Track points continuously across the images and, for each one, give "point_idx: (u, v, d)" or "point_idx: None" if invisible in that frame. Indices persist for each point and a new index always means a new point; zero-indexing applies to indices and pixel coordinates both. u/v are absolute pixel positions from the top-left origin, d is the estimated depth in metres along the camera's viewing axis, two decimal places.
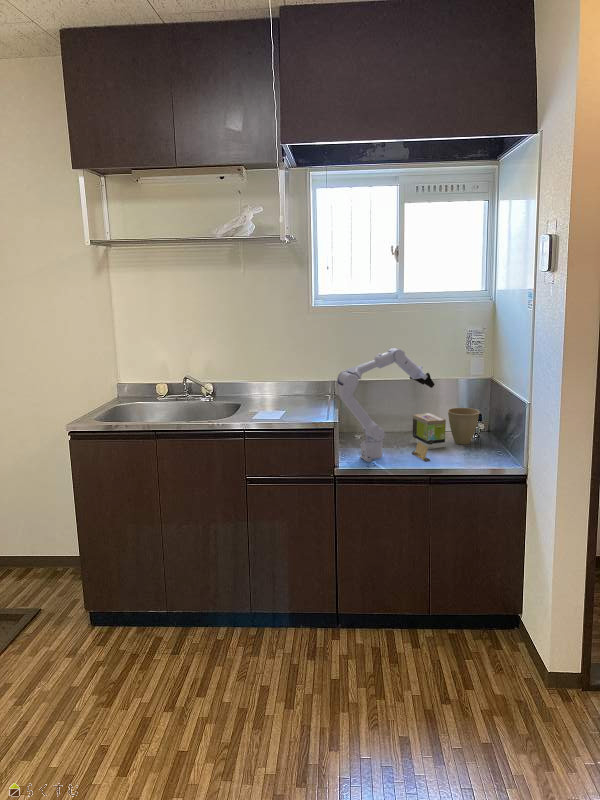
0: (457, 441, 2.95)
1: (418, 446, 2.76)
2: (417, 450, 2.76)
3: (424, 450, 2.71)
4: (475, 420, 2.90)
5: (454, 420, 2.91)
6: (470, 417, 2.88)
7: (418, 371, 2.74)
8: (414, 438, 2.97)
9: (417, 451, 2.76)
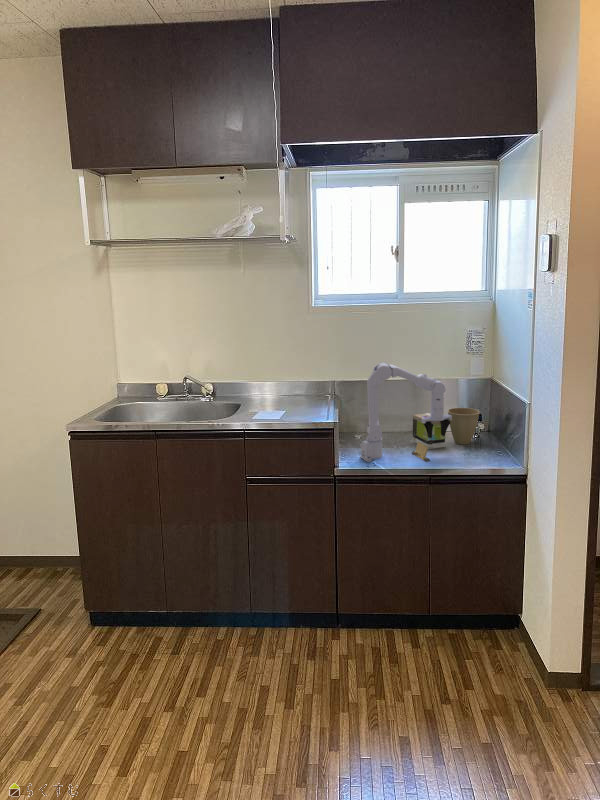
0: (457, 441, 2.95)
1: (418, 446, 2.76)
2: (417, 450, 2.76)
3: (424, 450, 2.71)
4: (475, 420, 2.90)
5: (454, 420, 2.91)
6: (470, 417, 2.88)
7: (432, 416, 2.71)
8: (414, 438, 2.97)
9: (417, 451, 2.76)
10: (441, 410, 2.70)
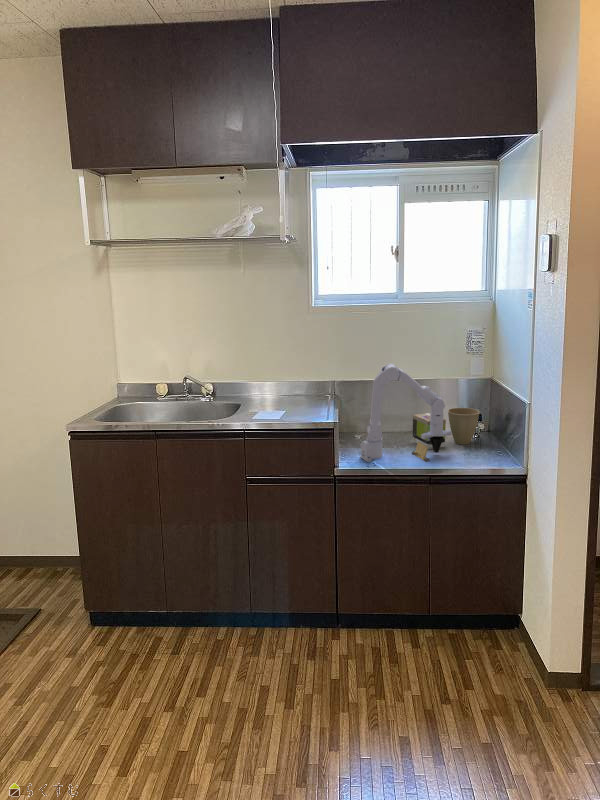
0: (457, 441, 2.95)
1: (418, 446, 2.76)
2: (417, 450, 2.76)
3: (424, 450, 2.71)
4: (475, 420, 2.90)
5: (454, 420, 2.91)
6: (470, 417, 2.88)
7: (432, 431, 2.73)
8: (414, 438, 2.97)
9: (417, 451, 2.76)
10: (441, 426, 2.71)
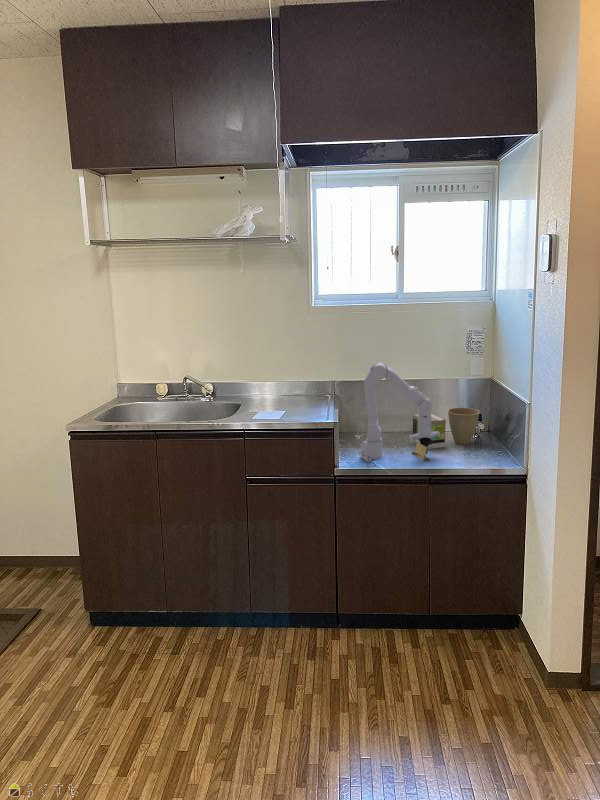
0: (457, 441, 2.95)
1: (417, 446, 2.76)
2: (417, 450, 2.76)
3: (423, 450, 2.71)
4: (475, 420, 2.90)
5: (454, 420, 2.91)
6: (470, 417, 2.88)
7: (420, 433, 2.71)
8: None
9: (417, 451, 2.76)
10: (429, 427, 2.70)
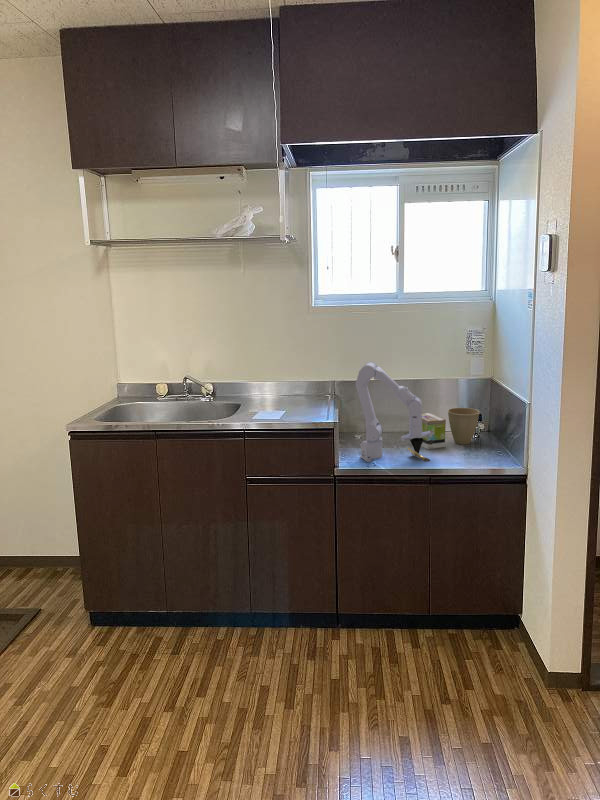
0: (457, 441, 2.95)
1: (410, 451, 2.75)
2: (413, 453, 2.76)
3: (417, 455, 2.70)
4: (475, 420, 2.90)
5: (454, 420, 2.91)
6: (470, 417, 2.88)
7: (411, 433, 2.69)
8: None
9: (414, 454, 2.76)
10: (419, 427, 2.68)
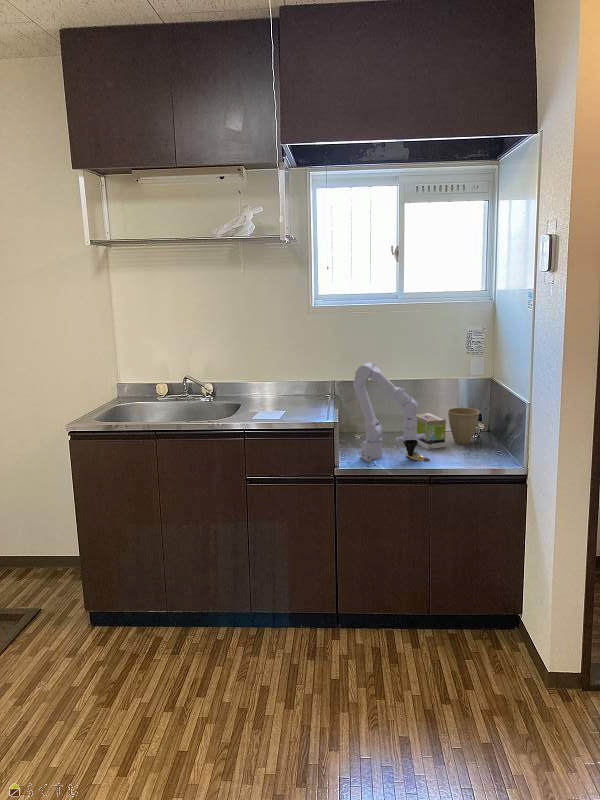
0: (457, 441, 2.95)
1: None
2: (413, 456, 2.76)
3: None
4: (475, 420, 2.90)
5: (454, 420, 2.91)
6: (470, 417, 2.88)
7: (405, 435, 2.69)
8: None
9: (413, 456, 2.76)
10: (414, 429, 2.67)
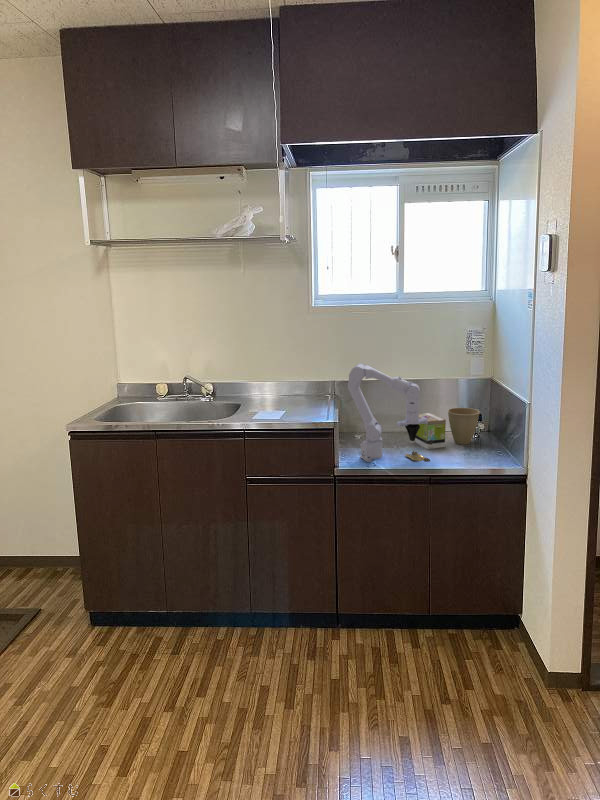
0: (457, 441, 2.95)
1: None
2: None
3: None
4: (475, 420, 2.90)
5: (454, 420, 2.91)
6: (470, 417, 2.88)
7: (407, 419, 2.68)
8: None
9: None
10: (416, 414, 2.67)
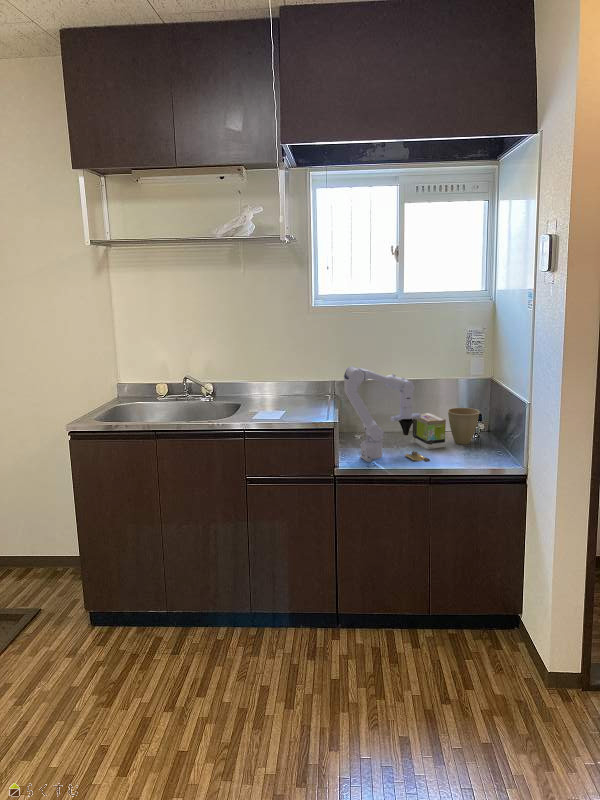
0: (457, 441, 2.95)
1: None
2: None
3: None
4: (475, 420, 2.90)
5: (454, 420, 2.91)
6: (470, 417, 2.88)
7: (401, 414, 2.76)
8: (414, 438, 2.97)
9: None
10: (410, 409, 2.74)
